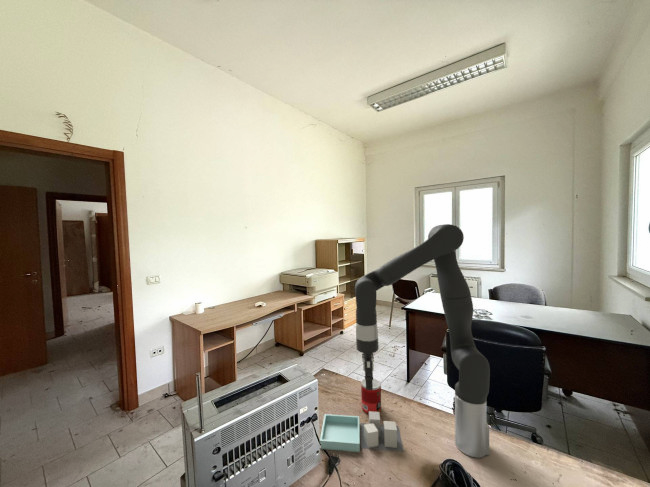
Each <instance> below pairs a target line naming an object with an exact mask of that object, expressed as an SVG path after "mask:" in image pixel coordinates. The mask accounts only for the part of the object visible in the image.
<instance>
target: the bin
mask: <svg viewBox="0 0 650 487" xmlns="http://www.w3.org/2000/svg"><path fill="white" fill-rule="evenodd" d="M319 437H320V438H319V445H320V444H321V449H320V450H326V451H327V450H329V451H337V452H338V451H340V452H351V453H353V452H354V453H360V451H361V431H360V416H359V415H345V414H343V415H342V414H330V413H329V414H328V413H327V414H326V413H324V415H323V422H322V428H321V433H320V436H319Z"/></svg>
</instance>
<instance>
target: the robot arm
mask: <svg viewBox="0 0 650 487" xmlns="http://www.w3.org/2000/svg"><path fill="white" fill-rule="evenodd" d="M464 238H465V236H464V232H463V231H462V228H460V227H458V226H457V225H454V224H448V223H447V224H440V225H436V226H434V227H432V228H431V229H430V230H429V232H428V235H427V239H426V240H425V241H423V242H422V243H420V244H419V245H417V246H416V247H413V248H411V249H410V250H408V251H405V252H404V253H401V254H399V255H398V256H397V255H396V256H394V257H393V258H392V259H389V261H387V262H385V263H384V264H382V265H380V266H379V267H378V268H376V269H374V270H371V271H370V272H368V273H366V274H365V275H363V276H360V277H359V279H357V280H356V281H355V285H354V294H355V305H356V309H355V320H356V324H355V339H356V340H355V341H356V343H355V344H356V350H357V351H358V352H359V353H361V361H362V364H363V365H362V366H363V367H362V368H363V372H364V379H365V380H366V390H372V389H373V383H372V380H373V379H374V375H373V374H374V370H375V368H374V366H375V365H374V363H375V358H374V353H377V352H378V350H379V329H378V323H377V322H378V321H377V320H378V318H377V317H378V316H377V291H379V290H381V289H382V288H384V287H389V286H391V285H393V284H394V283H396V282H398V281H399V280H401V279H403V278H404V277H406V276H407V275H409V274H411V273H413V271H416V270H417V269H419V268H420V267H422V266H424V265H426V264H428V263H429V262H431V261H433V262H434V264H435V269H436V277H437V282H438V287H439V294H440V299H441V304H442V309H443V313H444V317H445V321H446V325H447V328H448V333H449V341H450V342H449V343H450V354H451V360H452V362H453V364H454V366H455V367H456V368H457V370H458V381H457V382H455V384H454V429H455V430H454V441H455V442H454V443H455V446H456V447H457V448H458V449H459V451H461V452H462V453H463V454H464V455H467V456H469V457H472V458H477V459H479V458H484V457H485V456H490V425H489V424H488V423H489V422H487V398H488V395H489V392H490V381H491V380H490V379H491V367H490V363H489V360H488V358H486V357H485V355H484V354H482V353H481V351H479V350H478V349H477V347H476V343H475V341H474V337H473V333H472V322H473V317H474V304H473V299H472V298H473V297H472V295H471V294H472V293H471V290H470V287H469V284H468V282H467V279H466V278H465V275H464V273H463V272H462V271H461V268H460V266H459V263H458V259H457V254H456V253H457V252H456V251H457V250H458V249H459V248H461V246H462V245H463V242H464Z"/></svg>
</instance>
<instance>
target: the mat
mask: <svg viewBox="0 0 650 487" xmlns="http://www.w3.org/2000/svg"><path fill="white" fill-rule="evenodd" d="M365 424H368V423H363V422H361V423H360V422H359V425H360V450H361V449H364V450H374V451H387V452H398V453H405V450H404V446H403V441H402V437H401V431H400V428H399V427H400V426H399V425H396V428H397V448H393V447H385V444H384V424H381V423H380V437H379V436H378V446H375V447H370V448H368V446H367V444H366V442H365V440H364V425H365Z"/></svg>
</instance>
